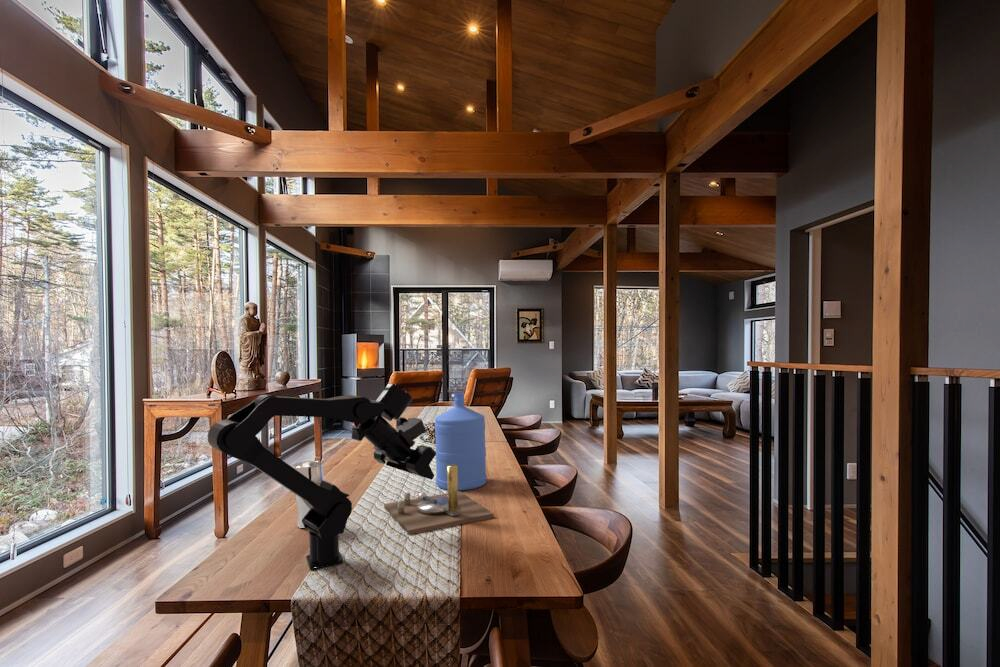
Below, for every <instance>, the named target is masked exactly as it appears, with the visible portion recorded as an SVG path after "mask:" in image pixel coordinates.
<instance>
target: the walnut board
mask: <svg viewBox="0 0 1000 667" xmlns="http://www.w3.org/2000/svg"><path fill="white" fill-rule="evenodd" d="M403 496H404V497H403V499H404V500H403V499H401V500H398V501H395V502H389V503H384V504H383V506H384V507H383V508H384V509H385V510H386V511H387V513H388V512H389V513H390V514H389V513H388V514H389V515H390V516H391V517H392V519H394V520H395V521H396V523H397V522H398V523H397V524H398V525H399V526H400V527H401V528H402V529H403V530H404V532H405V531H406V532H407V533H408V534H409V535H414V534H418V533H424V532H429V531H433V530H439V529H443V528H448V527H453V526H454V527H455V526H459V525H464V524H468V523H472V522H479V521H483V520H488V519H489V520H490V519H493V518H494V513H493V512H492V511H490V510H488V509H487V508H486V507H484V506H483V505H482V504H479V503H478V502H476V501H475V500H474V499H472V498H471V497H469V496H468V495H466V494H465V493H463V492H462V491H461V490H458V509H459V510H460V512H461V514H459V515H456V516H451V515H448V514H446V513H441V514H425V513H421V512H419V511H418V510H417V504H418V503H419V502H421V501H419V499H418V497H417V498H411V492H404V493H403ZM428 496H429V495H428ZM429 497H431V498H448V492H447V493H441V494H436V495H430V496H429ZM406 532H405V533H406ZM407 533H406V534H407ZM413 533H414V534H413ZM408 534H407V535H408Z"/></svg>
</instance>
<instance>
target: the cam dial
mask: <svg viewBox="0 0 1000 667" xmlns="http://www.w3.org/2000/svg"><path fill="white" fill-rule="evenodd" d="M458 491H459V490H458V472H457V465H448V466H447V493H448V498H431V497H429V495H427V493H426V492H424V491H423V492H419V494H418V495H417V498H418V499H419V501H421V502H419V503H418V504H417V510H418V511H419V512H421V513H425V514H441V513H446V514H448V515H451V516H456V515H459V514H461V512H460V510H459V509H458Z"/></svg>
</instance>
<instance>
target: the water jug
mask: <svg viewBox="0 0 1000 667" xmlns="http://www.w3.org/2000/svg"><path fill="white" fill-rule="evenodd" d="M453 394H454V399H453V400H454V401H453V402H454V405H453V407H451V408H450V409H447V410H446V411H444V412H443V413H441V414H439V415H437V416H436V417H434V433H435V450H434V451H435V452H436V455H435V468H436V470H435V473H436V474H435V484H436V485H437V487H438V488H441V489H443V490H447V466H448V465H457V472H458V491H469V490H474V489H475V490H476V489H478V488H480V487H482V486H484V485H485V484H487V479H488V478H487V477H488V476H487V472H486V471H487V469H486V468H487V467H486V466H487V465H486V464H487V462H486V460H487V459H486V456H487V449H486V418H485V416H484V414H482V413H479V412H478V411H475V410H474V409H471V408H468V406H466V404H465V402H466V401H465V393H463V392H456V393H453ZM447 491H448V490H447Z"/></svg>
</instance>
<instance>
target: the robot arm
mask: <svg viewBox="0 0 1000 667" xmlns="http://www.w3.org/2000/svg"><path fill="white" fill-rule="evenodd" d="M412 401H413V397H412V396H411V395H410V393H408V392H407V391H405V390H403V389H402V388H400V387H398V386H396V384H394V383H390V382H389V383H387V385H386V386H385V388H384V389H383V391H382V392H381V393H380V394H379V396H378V397H377V399H376V400H373V399H369V398H368V397H365V396H359V395H352V394H348V395H339V396H334V397H329V398H314V397H313V398H311V397H298V396H297V397H294V396H280V395H279V396H276V395H270V394H261V395H258V396H257V397H256V398H255V399H254V400H252V401H251V402H250V403H248V404H247V405H245V406H243V407H242V408H240V409H239V410H237V411H235V412H234V413H232V414H231V415H230V416H228V417H227V418H226V419H221V420H218V421H216V422H215V423H214V424H212V425H211V427H210V428H209V430H208V433H207V443H208V444H209V445H210V446H211V447H212V448H213V449H215V450H217V451H219V452H221V453H223V454H225V455H227V456H230V457H232V458H235V459H237V460H239V461H240V462H241V461H242V462H244V463H247V464H249V465H251V466H252V467H254V468H256V469H257V470H258V471H260V472H261V473H263V474H264V475H266V476H267V477H268V478H270V479H272V480H273V481H275V482H276V483H278V484H280V485H281V486H282V487H284V488H285V489H287V490H288V491H290V492H291V493H293V494H294V495H295V494H296V495H297V496H299V497H300V498H301V499H302V500H303V501H304V502H305V504H306V505H307V506H308V507H309V508H310V510H309V511H308V513H307V514H306V515H305V517H304V518H303V519H302V523H303V525H304V528H305V529H304V530H308V531H309V532H308V533H309V534H308V537H309V538H308V539H309V540H308V542H309V554H307V555H305V558H306V562H307V565H308V567H309V570H313V569H312V568H314V567H321V568H323V567H322V566H325V567H328V566H327V565H330V566H334V564H335V565H338V564H343V563H344V558H343V556H342V554H341V552H340V544H339V542H340V541H339V540H340V538H339V537H340V535H341V534H344V533H345V530H346V525H347V523H348V519H349V518H350V516H351V514H352V511H353V510H352V509H353V507H352V506H353V502H352V501H351V500H350V499H349V496H350V494H348V493H346V492H344V491H342V490H340V488H339V487H338V486H336V484H333V483H331V482H329V481H326V480H325V479H324V480H322V481H321V483H320V485H317V484H315V483H314V482H313V481H311V480H310V479H308V478H307V477H305V476H304V475H303V474H301V473H300V472H298V471H297V470H295V469H294V468H295V467H292V465H290V464H289V463H287V462H286V461H285V460H284V459H281V458H279V456H277V455H276V454H274V453H272V452H271V451H270V450H268V448H266V447H265V446H264V444H263V443H262V441H261V440H260V438H259V437H258V436H257V435H258V434H260V432H261V431H262V430H263V429H264V427H265V426H266V425H267V424H268V423H269V421H270V420H272V418H274V417H275V416H277V417H278V416H280V417H303V418H304V417H307V418H311V417H312V418H332V419H335V420H340V421H343V422H349V423H352V424H357V425H358V426H354V427H352V428H351V429H352V430H351V431H352V433H351V439H352V440H354V441H357V442H362V440H364V438H365V439H366V440H367V441H368V442H370V443H371V444H372V445H373V449H374V450H375V451H374V452H373V459H374V460H375V461H376V462H378V463H380V464H382V465H386V466H387V467H391V468H394V469H396V470H400V471H403V472H406V473H409V474H413V475H415V476H418V477H422V478H425V479H428V480H431V481H432V480H433V479H434V477H435V474H434V472H433V470H432V468H431V466H430V464H431V463H432V461H433V460H434V458H436V456H435V455H436V452H435V450H434V449H433V448H432V446H427V445H423V444H422V445H418V446H416V448H415V449H414V448H411V447H413V446H414V445H415V444H416V442H415V440H416V439H417V438H419V437H421V435H422V434H425V433H426V432H427V429H426V427H425V424H424V422H423V420H422V418H419V417H408V418H406V417H403V416H402V415H403V413H404V412H405V410H406V409H407V407H409V405H410V404H411V403H412ZM392 420H396V421H395V424H396V425H395V426H396V428H394V427H393V426H392V425H391V424H390V423H389V421H390V422H391V421H392Z"/></svg>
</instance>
